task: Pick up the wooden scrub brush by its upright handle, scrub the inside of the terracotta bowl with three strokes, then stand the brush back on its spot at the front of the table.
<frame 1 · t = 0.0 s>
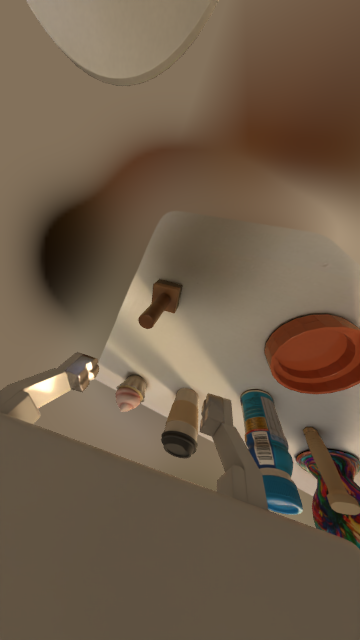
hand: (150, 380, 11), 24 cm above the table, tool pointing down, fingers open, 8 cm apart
beverage bottle: (255, 397, 43), on the table
bowl: (306, 347, 32), on the table
coffee cup: (187, 394, 49), on the table
handle: (308, 428, 45), on the table
vase: (325, 460, 50), on the table
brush: (169, 293, 33), on the table
cupcake: (137, 380, 51), on the table
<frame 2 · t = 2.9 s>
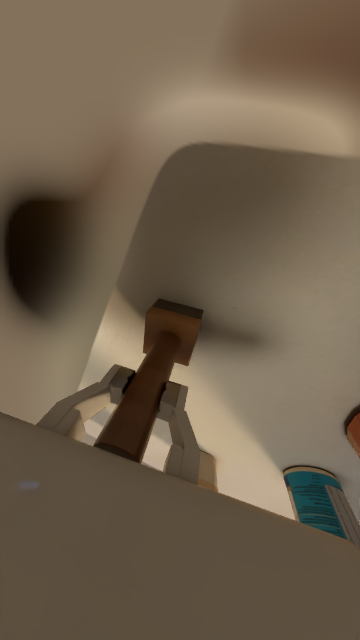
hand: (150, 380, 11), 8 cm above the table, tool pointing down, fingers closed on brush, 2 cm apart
beverage bottle: (307, 474, 28), on the table
coffee cup: (200, 457, 34), on the table
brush: (176, 323, 18), on the table, touching gripper
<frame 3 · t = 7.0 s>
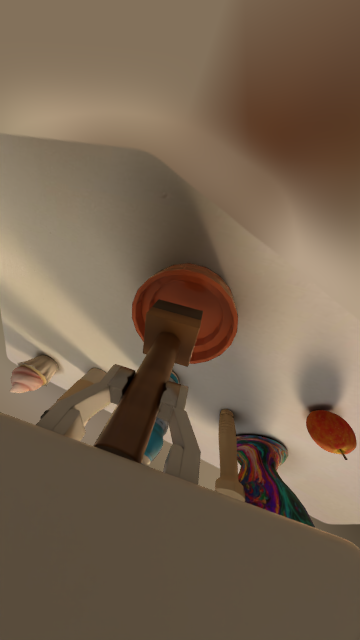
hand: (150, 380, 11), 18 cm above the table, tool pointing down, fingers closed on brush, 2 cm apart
beverage bottle: (163, 376, 39), on the table
bowl: (187, 310, 28), on the table
coffee cup: (100, 376, 44), on the table
handle: (226, 411, 40), on the table
vase: (254, 447, 46), on the table
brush: (176, 323, 18), point 10 cm above the table, touching gripper
cupcake: (49, 362, 46), on the table
fruit: (318, 411, 34), on the table
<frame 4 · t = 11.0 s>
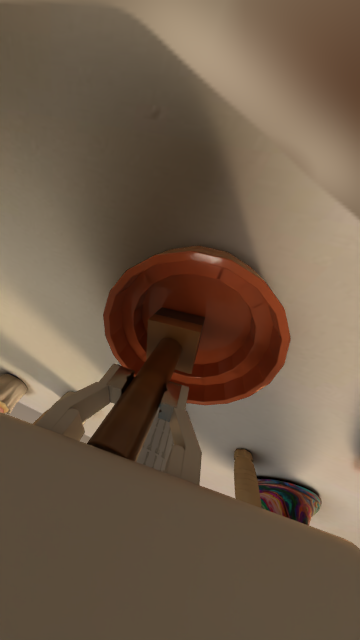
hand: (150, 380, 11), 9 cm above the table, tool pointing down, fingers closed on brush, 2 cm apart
beverage bottle: (159, 406, 29), on the table
bowl: (193, 321, 18), on the table
handle: (242, 450, 31), on the table
vase: (276, 491, 36), on the table
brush: (179, 331, 18), point 1 cm above the table, tilted 6°, touching gripper
cupcake: (16, 381, 37), on the table
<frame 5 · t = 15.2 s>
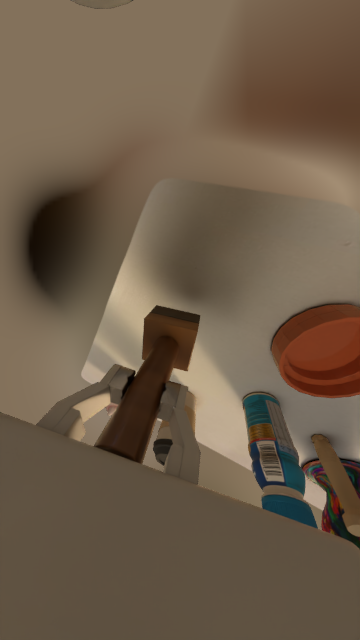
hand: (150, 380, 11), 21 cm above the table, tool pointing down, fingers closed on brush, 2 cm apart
beverage bottle: (259, 401, 39), on the table
bowl: (320, 344, 28), on the table
coffee cup: (184, 397, 44), on the table
handle: (317, 436, 40), on the table
vase: (334, 470, 46), on the table
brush: (175, 329, 18), point 13 cm above the table, touching gripper
cupcake: (129, 381, 46), on the table
when the fingers open (8 cm above the table, at t = 19.0 s): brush stays where it is, on the table.
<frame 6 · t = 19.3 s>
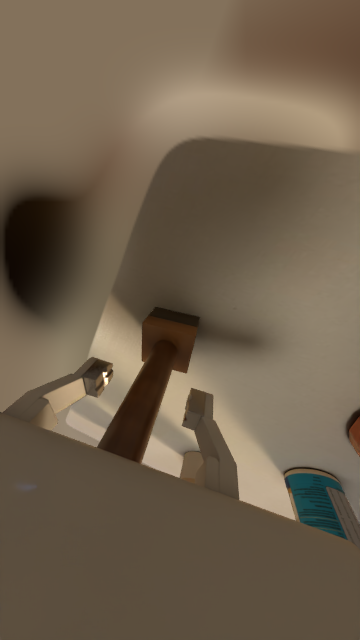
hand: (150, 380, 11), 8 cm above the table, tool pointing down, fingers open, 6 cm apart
beverage bottle: (308, 476, 28), on the table
coffee cup: (200, 458, 33), on the table
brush: (174, 330, 18), on the table
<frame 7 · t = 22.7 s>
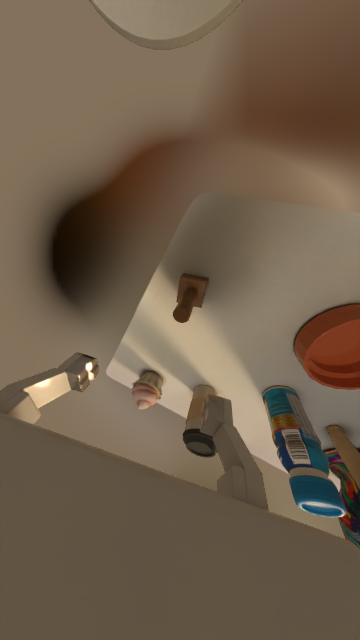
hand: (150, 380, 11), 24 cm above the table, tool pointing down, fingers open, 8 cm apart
beverage bottle: (278, 394, 41), on the table
bowl: (340, 340, 31), on the table
coffee cup: (205, 392, 47), on the table
handle: (332, 427, 43), on the table
vase: (347, 459, 49), on the table
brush: (193, 287, 32), on the table
cupcake: (152, 377, 49), on the table
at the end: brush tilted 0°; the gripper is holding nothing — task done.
